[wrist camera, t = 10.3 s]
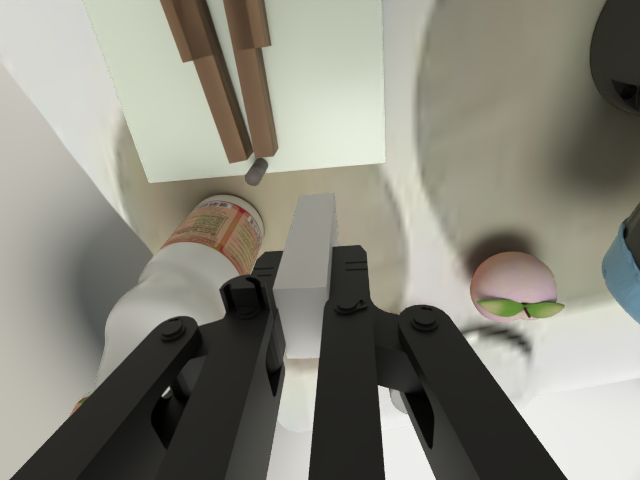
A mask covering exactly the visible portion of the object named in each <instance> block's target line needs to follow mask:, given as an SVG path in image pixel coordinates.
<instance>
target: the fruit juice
mask: <svg viewBox="0 0 640 480" xmlns="http://www.w3.org/2000/svg"><path fill="white" fill-rule="evenodd" d="M263 236H264V228H263V223H262V220H261V218H260V216H259V214H258V212H257V211H256V210H255V209H254V208H253V207H252V206H251V205H250V204H249V203H248V202H246V201H244V200H243V199H241V198H238V197H235V196H231V195H215V196H212V197H209V198H207V199H205V200H203V201H202V202H201V203H199V204H198V205H197V206H196V207H195V208H194V210H193V211H192V212H191V213H190V214H189V215H188V217H187V218H186V219H185V220H184V221H183V223H182V224H181V225H180V226H179V227H178V228H177V230H176V231H175V232H174V233H173V234H172V235H171V237H170V238H169V239H168V240H167V241H166V243H165V244H164V245H163V246H162V247H161V248H160V250H159V251H158V252H157V253H156V254H155V255H154V256H153V257H152V259H151V260H150V262H149V263H148V264H147V266H146V267H145V269H144V270H143V272H142V274H141V276H140V278H139V281H138V285H137V286H136V287H134V288H133V289H131V290H130V291H129V292H127V293H126V294H125V295H124V296H122V297H121V298H120V300H119V301H118V302H117V303H116V305H115V306H114V308H113V309H112V311H111V313H110V315H109V317H108V319H107V322H106V327H105V342H106V343H105V348H104V353H103V357H102V360H101V365H100V368H99V371H98V374H97V379H96V382H95V386H94V389H93V390H92V391H90V392H88V393H87V394H86V395H84V396H83V398H82V399H81V400H80V401H79V402H78V403H77V404H76V406H75V408H74V409H73V411H72V413H71V415H72V414H73V413H74V412H75V411H76V410H77V409H78V408H79V407H80V405H81V404H82V403H83V402H84V401H85V400H86V399H87V398H88V397H89V396H90V395H91V394H92V393H93V392H94V391H95V390H96V389H97V388H98V387H99V386H100V385H101V384H102V382H103V381H104V380H105V379H106V378H107V377H108V376H109V375H110V374H111V373H112V372H113V371H114V370H115V369H116V368H117V367H118V366H119V365H120V364H121V363H122V362H123V360H124V359H125V358H126V357H127V356H128V355H129V354H130V353H131V352H132V351H133V350H134V349H135V348H136V347H137V346H138V345H139V344H140V343H141V342H142V341H143V340H144V339H145V337H146V336H147V335H148V334H149V333H150V332H151V331H152V330H153V329H154V328H155V327H157V326H158V325H159V324H160V323H162V322H164V321H166V320H168V319H170V318H173V317H177V316H189V317H192V318H194V319H195V321H196V322H197V324H198V326H200V325H204V324H207V323H211V322H215V321H217V320H220V319H223V318H224V316H225V313H226V311H225V307H224V304H223V301H222V298H221V295H220V291H219V289H220V287H221V286H222V285H223V284H224V283H225V282H227V281H228V280H230V279H232V278H234V277H237V276H241V275H247V274H249V275H250V272H251V270H252V267H253V265H254V262H255V260H256V257H257V255H258V252H259V250H260V247H261V245H262V242H263ZM169 390H170V388H169V387H168V388H167V390H166V391H165V392H164V393H163V395H162V397H163V396H164V395H165V394H166V393H167V392H168V391H169ZM71 415H70V416H71Z"/></svg>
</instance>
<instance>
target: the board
mask: <svg viewBox="0 0 640 480" xmlns="http://www.w3.org/2000/svg"><path fill="white" fill-rule="evenodd" d="M82 1H83V3H84V6H85V9H86V12H87V14H88V17H89V20H90V23H91V25H92V28H93V31H94V34H95V36H96V39H97V42H98V45H99V47H100V50H101V53H102V56H103V58H104V61H105V64H106V67H107V69H108V72H109V75H110V78H111V80H112V83H113V86H114V88H115V91H116V94H117V97H118V99H119V102H120V105H121V108H122V110H123V113H124V116H125V119H126V121H127V124H128V127H129V130H130V132H131V135H132V138H133V141H134V143H135V146H136V149H137V152H138V154H139V157H140V160H141V162H142V165H143V168H144V171H145V173H146V176H147V179H148V182H149V183H155V182H167V181H178V180H190V179H202V178H213V177H225V176H236V175H246V173H247V172H248V170H249V169H250V168H251V166H252V165H253V163H254V162H255V160H256V159H258V158H255V155H254V152H253V153H252V155H251V156H250V157H249V159H248V160H245V161H241V162H236V163H231V164H229V161H228V159H227V156H226V153H225V150H224V147H223V144H222V142H221V139H220V136H219V133H218V130H217V127H216V125H215V122H214V119H213V116H212V113H211V111H210V108H209V105H208V102H207V99H206V96H205V94H204V91H203V88H202V85H201V82H200V79H199V77H198V74H197V71H196V68H195V65H194V63H193V61H189V62H185V63H183V62H182V59H181V57H180V54H179V51H178V48H177V46H176V43H175V40H174V38H173V35H172V32H171V29H170V27H169V24H168V21H167V19H166V16H165V13H164V10H163V8H162V5H161V2H160V0H82ZM206 2H207V5H208V8H209V12H210V15H211V18H212V21H213V24H214V27H215V31H216V34H217V37H218V40H219V43H220V46H221V50H222V53H223V56H224V59H225V62H226V66H227V69H228V72H229V75H230V78H231V81H232V85H233V88H234V91H235V94H236V97H237V100H238V104H239V107H240V110H241V113H242V116H243V119H244V123H245V126H246V129H247V132H248V135H249V138H250V142H251V145H252V140H251V135H250V131H249V126H248V121H247V116H246V111H245V106H244V101H243V96H242V91H241V86H240V82H239V77H238V72H237V67H236V62H235V57H234V52H233V47H232V42H231V37H230V33H229V28H228V23H227V18H226V13H225V8H224V3H223V0H206ZM264 2H265V8H266V14H267V21H268V27H269V34H270V40H271V46H268V47H262V54H263V59H264V65H265V71H266V77H267V83H268V89H269V95H270V101H271V107H272V113H273V119H274V125H275V130H276V136H277V142H278V150H277V152H276V154H275V155H274V156H273V157H262V158H263V159H265V160H266V161H267V162H268V168H267V170H266V172H265V173H271V172H283V171H294V170H306V169H317V168H329V167H340V166H352V165H363V164H375V163H386V158H385V114H384V69H383V24H382V0H264ZM252 148H253V145H252ZM253 151H254V150H253Z"/></svg>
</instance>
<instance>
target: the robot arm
mask: <svg viewBox="0 0 640 480" xmlns="http://www.w3.org/2000/svg"><path fill="white" fill-rule="evenodd" d="M590 63H591V71H592V76H593V79H594V82H595V85H596V87H597V89H598V90H599V92H600V93H601V95H602V96H603V97H604V98H605V99H606V100H607V101H608V102H609V103H611V104H612V105H614V106H615V107H617V108H619V109H622V110H624V111H627V112H631V113H634V114H638V115H640V0H608V2H607V4H606V5H605V7H604V9H603V11H602V13H601V16H600V18H599V20H598V23H597V26H596V29H595V32H594V36H593V40H592V45H591V55H590ZM602 273H603V277H604V279H605V283H606V286H607V288H608V289H609V291H610V293H611V294H612V296H613V297H614V298H615V299H616V301H617V302H618V303H619V304H620V306H621V307H622V308H623V309H624V310H625V311H626V312H627V313H628V314H629V315H630V316H631V317H632V318H633V319H635V320H636V321H637V322H638V323H639V324H640V203H639V204H638V206H637V207H636V208H635V210H634V211H633V212H632V214H631V215H630V216H629V217H628V218H626V219H625V220H624V221H623V223H622V224H621V225H620V228H619V232H618V235H617V237H616V238H615V240H614V242H613V243H612V245H611V246H610V248H609V249H608V251H607V253H606V254H605V256H604V258H603V261H602ZM219 291H220V295H221V298H222V301H223V304H224V307H225V311H226V313H225V316H224V318H223V319H220V320H217V321H215V322H211V323H207V324H204V325H200V326H198V324H197V322H196V321H195V319H194V318H192V317H189V316H177V317H173V318H170V319H168V320H166V321H164V322H162V323H160V324H159V325H158V326H157V327H155V328H154V329H153V330H152V331H151V332H150V333H149V334H148V335H147V336H146V337H145V339H144V340H143V341H142V342H141V343H140V344H139V345H138V346H137V347H136V348H135V349H134V350H133V351H132V352H131V353H130V354H129V355H128V356H127V357H126V358H125V359H124V360H123V362H122V363H121V364H120V365H119V366H118V367H117V368H116V369H115V370H114V371H113V372H112V373H111V374H110V375H109V376H108V377H107V378H106V379H105V380H104V381H103V382H102V384H101V385H100V386H99V387H98V388H97V389H96V390H95V391H94V392H93V393H92V394H91V395H90V396H89V397H88V398H87V399H86V400H85V401H84V402H83V403H82V404H81V405H80V407H79V408H78V409H77V410H76V411H75V412H74V413H73V414H72V415H71V416H70V417H69V418H68V419H67V420H66V421H65V422H64V423H63V424H62V425H61V426H60V427H59V429H58V430H57V431H56V432H55V433H54V434H53V435H52V436H51V437H50V438H49V439H48V440H47V441H46V442H45V443H44V444H43V445H42V446H41V448H39V449H38V451H37V452H36V453H35V454H34V455H33V456H32V457H31V458H30V459H29V460H28V461H27V462H26V463H25V464H24V465H23V466H22V467H21V469H19V470H18V472H16V474H15V475H14V476H13V477H12V478H11V479H10V480H266V477H267V471H268V466H269V460H270V455H271V449H272V443H273V437H274V432H275V427H276V421H277V416H278V410H279V404H280V399H281V393H282V388H283V382H284V377H285V366H284V362H283V356H284V351H285V349H286V353H287V358H288V359H298V358H319V367H318V378H317V389H316V400H315V411H314V422H313V434H312V444H311V445H312V446H311V455H310V467H309V478H308V480H385V471H384V458H383V446H382V434H381V421H380V408H379V396H378V385H380V386H383V387H387V388H390V389H394V390H397V391H399V393H400V396H401V399H402V401H403V403H404V406H405V408H406V410H407V413H408V415H409V417H410V420H411V422H412V424H413V427H414V429H415V431H416V434H417V436H418V438H419V441H420V443H421V445H422V448H423V450H424V452H425V455H426V457H427V459H428V462H429V464H430V466H431V469H432V471H433V474H434V476H435V478H436V480H568V479H567V478H566V477H565V475H564V474H563V473H562V471H561V470H560V468H559V467H558V466H557V464H556V463H555V462H554V460H553V459H552V458H551V456H550V455H549V453H548V452H547V451H546V449H545V448H544V446H543V445H542V444H541V442H540V441H539V440H538V438H537V437H536V435H535V434H534V433H533V431H532V430H531V429H530V427H529V426H528V424H527V423H526V422H525V420H524V419H523V418H522V416H521V415H520V413H519V412H518V411H517V409H516V408H515V407H514V405H513V404H512V402H511V401H510V400H509V398H508V397H507V396H506V394H505V393H504V391H503V390H502V389H501V387H500V386H499V385H498V383H497V382H496V380H495V379H494V378H493V376H492V375H491V374H490V372H489V371H488V369H487V368H486V367H485V365H484V364H483V363H482V361H481V360H480V358H479V357H478V356H477V354H476V353H475V351H474V350H473V349H472V347H471V346H470V345H469V343H468V342H467V340H466V339H465V338H464V336H463V335H462V334H461V332H460V331H459V329H458V328H457V327H456V325H455V324H454V323H453V321H452V320H451V318H450V317H449V316H448V315H447V314H446V313H445V312H444V311H443V310H440V309H438V308H436V307H434V306H429V305H414V306H411V307H408V308H406V309H405V310H404V311H402V312H401V313H400V315H397V314H392V313H388V312H385V311H383V310H381V309H379V308H378V307H376V306H375V305H374V304H373V302H372V301H371V298H370V290H369V278H368V265H367V253H366V251H365V250H364V249H363V248H362V247H361V246H360V245H354V246H339V237H338V226H337V216H336V206H335V196H334V193H326V194H313V195H300V196H299V200H298V203H297V207H296V210H295V214H294V217H293V220H292V224H291V227H290V231H289V234H288V238H287V241H286V245H285V248H284V251H271V252H265V253H264V254H262V255H261V256H260V257H259V258H258V259H257V261H256V263H255V266H254V270H253V271H252V274H251V275H249V274H247V275H241V276H237V277H234V278H232V279H230V280H228V281H227V282H225V283H224V284H223V285H222V286H221V287H220V289H219ZM168 387H169V388H170V390H169V391H168V392H167V393H166V394H165V395H164V396H163V397H162V395H163V393H164V392H165V391H166V390H167V388H168Z"/></svg>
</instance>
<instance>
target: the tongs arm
mask: <svg viewBox="0 0 640 480" xmlns="http://www.w3.org/2000/svg"><path fill="white" fill-rule="evenodd" d="M160 2H161V5H162V8H163V10H164V13H165V16H166V19H167V21H168V24H169V27H170V29H171V32H172V35H173V38H174V40H175V43H176V46H177V48H178V51H179V54H180V57H181V59H182V62H183V63H185V62H189V61H193V63H194V65H195V68H196V71H197V74H198V77H199V79H200V82H201V85H202V88H203V91H204V94H205V96H206V99H207V102H208V105H209V108H210V111H211V113H212V116H213V119H214V122H215V125H216V127H217V130H218V133H219V136H220V139H221V142H222V144H223V147H224V150H225V153H226V156H227V159H228V161H229V164H231V163H236V162H241V161H245V160H248V159H249V157H250V156H251V155H252V153H253V152H254V151H253V148H252V145H251V142H250V138H249V135H248V132H247V129H246V126H245V123H244V119H243V116H242V113H241V110H240V107H239V104H238V100H237V97H236V94H235V91H234V88H233V85H232V81H231V78H230V75H229V72H228V69H227V66H226V62H225V59H224V56H223V53H222V50H221V46H220V43H219V40H218V37H217V34H216V31H215V27H214V24H213V21H212V18H211V15H210V12H209V8H208V5H207V2H206V0H160Z"/></svg>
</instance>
